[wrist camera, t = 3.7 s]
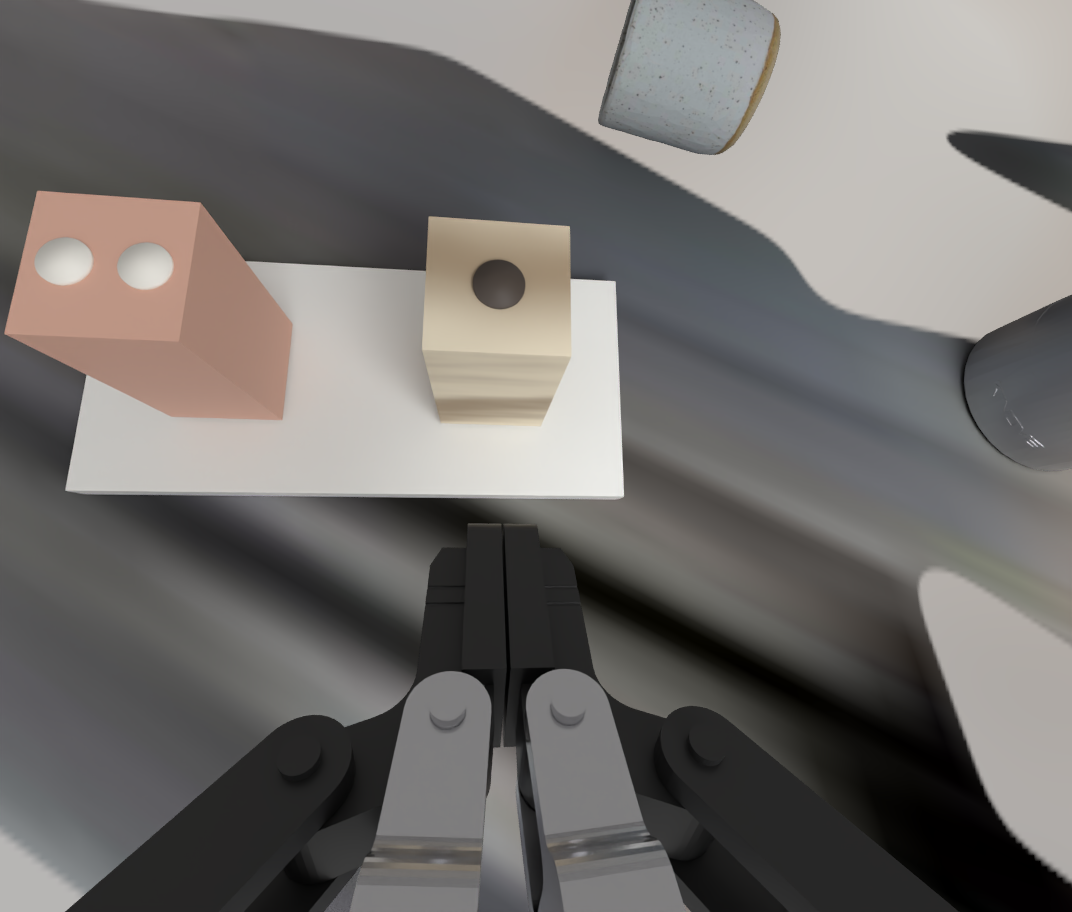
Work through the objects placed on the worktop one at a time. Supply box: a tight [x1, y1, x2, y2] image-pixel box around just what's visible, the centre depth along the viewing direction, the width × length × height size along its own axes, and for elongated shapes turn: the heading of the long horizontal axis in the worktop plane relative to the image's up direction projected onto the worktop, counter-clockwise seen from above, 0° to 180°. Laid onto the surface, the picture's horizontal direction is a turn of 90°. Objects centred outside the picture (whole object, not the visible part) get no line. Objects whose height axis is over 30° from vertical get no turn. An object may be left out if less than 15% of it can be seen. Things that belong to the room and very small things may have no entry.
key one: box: [422, 216, 571, 426], centre depth 22 cm, size 5×5×9 cm
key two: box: [4, 191, 293, 420], centre depth 21 cm, size 5×5×9 cm
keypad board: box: [65, 261, 624, 499], centre depth 27 cm, size 26×12×1 cm, turn 90°
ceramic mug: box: [598, 0, 781, 155], centre depth 30 cm, size 11×8×8 cm
